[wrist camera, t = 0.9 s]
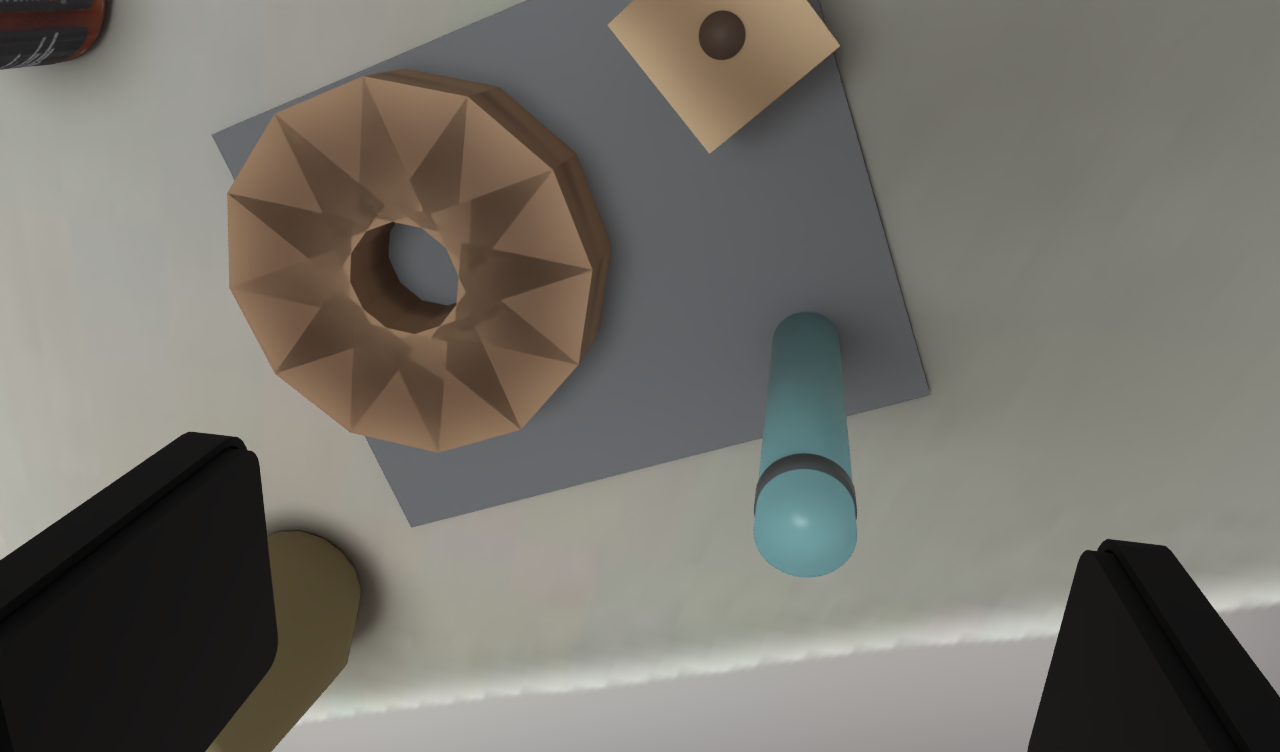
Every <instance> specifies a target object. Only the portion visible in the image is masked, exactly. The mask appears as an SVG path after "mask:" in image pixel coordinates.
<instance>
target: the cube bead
mask: <svg viewBox="0 0 1280 752" xmlns="http://www.w3.org/2000/svg"><path fill="white" fill-rule="evenodd" d="M608 27H609V28H610V29H611V30H612V32H613V33H614V34H615V36H616V37H617V38H618V39H619V41H620V42H621V43H622V44H623V46H624V47H625V48H626V49H627V51H628V52H629V53H630V54H631V56H632V57H633V58H634V59H635V61H636V62H637V63H638V64H639V66H640V67H641V68H642V69H643V71H644V72H645V73H646V75H647V76H648V77H649V78H650V80H651V81H652V82H653V83H654V85H655V86H656V87H657V88H658V90H659V91H660V92H661V93H662V95H663V96H664V97H665V98H666V100H667V101H668V102H669V103H670V105H671V106H672V107H673V108H674V110H675V111H676V112H677V114H678V115H679V116H680V117H681V119H682V120H683V121H684V122H685V124H686V125H687V126H688V127H689V129H690V130H691V131H692V132H693V134H694V135H695V136H696V137H697V139H698V140H699V141H700V142H701V144H702V145H703V146H704V147H705V149H706V150H707V151H708V153H709V154H710V153H711V152H712V151H714V150H715V149H716V148H717V147H719V146H720V145H721V144H722V143H723V142H725V141H726V140H727V139H728V138H729V137H731V136H732V135H733V134H734V133H736V132H737V131H738V130H739V129H740V128H742V127H743V126H744V125H745V124H746V123H748V122H749V121H750V120H751V119H752V118H754V117H755V116H756V115H757V114H759V113H760V112H761V111H762V110H763V109H765V108H766V107H767V106H768V105H769V104H771V103H772V102H773V101H774V100H776V99H777V98H778V97H779V96H780V95H782V94H783V93H784V92H785V91H786V90H788V89H789V88H790V87H791V86H792V85H794V84H795V83H796V82H797V81H799V80H800V79H801V78H802V77H803V76H805V75H806V74H807V73H808V72H809V71H811V70H812V69H813V68H814V67H816V66H817V65H818V64H819V63H820V62H822V61H823V60H824V59H825V58H826V57H828V56H829V55H830V54H831V53H832V52H834V51H835V50H836V49H837V48H839V47H840V45H839V43H838V41H837V40H836V38H835V37H834V35H833V34H832V33H831V31H830V30H829V29H828V27H827V26H826V25H825V23H824V22H823V21H822V19H821V18H820V16H819V15H818V14H817V12H816V11H815V10H814V8H813V7H812V6H811V4H810V3H809V2H808V0H633V1H632V2H631V3H630V4H629V5H628V6H627V7H626V8H625V9H624V10H623V11H622V12H621V13H620V14H619V15H618V16H616V17H615V18H614V19H613V20H612V21H611V22H610V23H609V24H608Z"/></svg>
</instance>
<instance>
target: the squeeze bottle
mask: <svg viewBox="0 0 1280 752" xmlns="http://www.w3.org/2000/svg"><path fill="white" fill-rule="evenodd" d="M267 540H268V549H269V558H270V567H271V576H272V585H273V595H274V604H275V613H276V622H277V631H278V648H277V653H276V657H275V660H274V662H273V664H272V667H271V668H270V670H269V671H268V673H267V674H266V675H265V677H264V678H263V679H262V680H261V682H260V683H259V684H258V685H257V687H256V688H255V689H254V690H253V692H252V693H251V694H250V696H249V697H248V698H247V699H246V701H245V702H244V703H243V704H242V706H241V707H240V708H239V710H238V711H237V712H236V713H235V715H234V716H233V717H232V718H231V720H230V721H229V722H228V724H227V725H226V726H225V727H224V729H223V730H222V731H221V732H220V734H219V735H218V736H217V738H216V739H215V740H214V741H213V743H212V744H211V745H210V746H209V748H208V749H207V750H206V751H205V752H271V751H272V750H273V749H274V748H275V747H276V746H277V745H278V743H279V742H280V741H281V740H282V739H283V738H284V737H285V735H286V734H287V733H288V732H289V731H290V730H291V728H292V727H293V726H294V725H295V724H296V723H297V722H298V721H299V719H300V718H301V717H302V716H303V715H304V714H305V713H306V711H307V710H308V709H309V708H310V707H311V706H312V705H313V703H314V702H315V701H316V700H317V699H318V698H319V697H320V695H321V694H322V693H323V692H324V691H325V690H326V689H327V687H328V686H329V685H330V684H331V683H332V682H333V680H334V679H335V678H336V677H337V676H338V674H339V673H340V672H341V671H342V669H343V668H344V667H345V666H346V665H347V661H348V656H349V652H350V647H351V642H352V637H353V633H354V628H355V623H356V618H357V613H358V609H359V602H360V596H361V587H360V584H359V580H358V577H357V573H356V570H355V569H354V568H353V566H352V565H351V564H350V562H349V561H348V560H347V558H346V557H345V556H344V554H343V553H342V552H341V551H340V550H338V549H337V548H335V547H334V546H333V545H331V544H330V543H328V542H327V541H326V540H324V539H323V538H320V537H317V536H314V535H311V534H308V533H305V532H302V531H282V532H277V533H274V534H272V535H269V536H267Z"/></svg>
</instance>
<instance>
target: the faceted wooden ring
mask: <svg viewBox="0 0 1280 752" xmlns="http://www.w3.org/2000/svg"><path fill="white" fill-rule="evenodd" d="M227 199H228V242H229V285H230V290H231V292H232V293H233V295H234V297H235V299H236V301H237V303H238V305H239V307H240V309H241V310H242V312H243V314H244V316H245V318H246V320H247V322H248V324H249V325H250V327H251V329H252V331H253V333H254V335H255V337H256V339H257V341H258V342H259V344H260V346H261V348H262V350H263V352H264V354H265V356H266V358H267V359H268V361H269V363H270V365H271V367H272V369H273V371H274V373H275V374H276V375H277V376H279V377H280V378H281V379H283V380H284V381H285V382H286V383H288V384H289V385H290V386H292V387H293V388H294V389H295V390H297V391H298V392H299V393H301V394H302V395H303V396H304V397H306V398H307V399H308V400H309V401H311V402H312V403H313V404H315V405H316V406H317V407H318V408H320V409H321V410H322V411H324V412H325V413H326V414H327V415H329V416H330V417H331V418H333V419H334V420H335V421H336V422H338V423H339V424H340V425H342V426H343V427H344V428H345V429H347V430H348V431H349V432H351V433H355V434H360V435H364V436H368V437H373V438H377V439H381V440H386V441H390V442H394V443H398V444H403V445H407V446H411V447H416V448H420V449H424V450H429V451H433V452H437V453H439V452H443V451H446V450H450V449H454V448H457V447H461V446H464V445H468V444H471V443H475V442H479V441H482V440H486V439H489V438H493V437H496V436H500V435H504V434H507V433H511V432H514V431H518V430H521V429H522V428H523V427H524V426H525V425H526V423H527V422H528V421H529V420H530V419H531V418H532V417H533V415H534V414H535V413H536V412H537V411H538V410H539V409H540V408H541V406H542V405H543V404H544V403H545V402H546V401H547V400H548V399H549V397H550V396H551V395H552V394H553V393H554V392H555V391H556V390H557V388H558V387H559V386H560V385H561V384H562V383H563V382H564V380H565V379H566V378H567V377H568V376H569V375H570V374H571V373H572V371H573V370H574V369H575V368H576V367H577V366H578V365H579V363H580V362H581V360H582V358H583V357H584V355H585V353H586V352H587V350H588V348H589V347H590V345H591V344H592V342H593V340H594V339H595V337H596V335H597V334H598V329H599V323H600V316H601V310H602V303H603V297H604V290H605V284H606V277H607V271H608V265H609V258H610V252H611V243H610V240H609V237H608V235H607V232H606V230H605V227H604V224H603V222H602V219H601V217H600V214H599V211H598V209H597V206H596V204H595V201H594V198H593V196H592V193H591V191H590V188H589V185H588V183H587V180H586V178H585V175H584V172H583V170H582V167H581V165H580V162H579V159H578V157H577V154H576V153H575V152H574V151H573V150H572V149H570V148H569V147H568V146H567V145H566V144H565V143H564V142H562V141H561V140H560V139H559V138H558V137H557V136H555V135H554V134H553V133H552V132H551V131H550V130H548V129H547V128H546V127H545V126H544V125H543V124H542V123H540V122H539V121H538V120H537V119H536V118H535V117H533V116H532V115H531V114H530V113H529V112H528V111H526V110H525V109H524V108H523V107H522V106H521V105H520V104H518V103H517V102H516V101H515V100H514V99H513V98H511V97H510V96H509V95H508V94H507V93H506V92H504V91H503V90H502V89H501V88H500V87H497V86H492V85H487V84H482V83H477V82H471V81H466V80H461V79H456V78H451V77H446V76H441V75H435V74H430V73H425V72H420V71H415V70H410V69H404V68H403V69H398V70H393V71H387V72H382V73H377V74H372V75H366V76H362V77H360V78H358V79H355V80H353V81H351V82H348V83H346V84H344V85H341V86H339V87H336V88H334V89H332V90H329V91H327V92H325V93H322V94H320V95H318V96H315V97H313V98H311V99H308V100H306V101H303V102H301V103H299V104H296V105H294V106H292V107H289V108H287V109H285V110H282V111H280V112H278V113H275V114H274V116H273V117H272V119H271V121H270V122H269V124H268V126H267V127H266V129H265V131H264V132H263V134H262V136H261V137H260V139H259V141H258V142H257V144H256V146H255V148H254V149H253V151H252V153H251V154H250V156H249V158H248V159H247V161H246V163H245V164H244V166H243V168H242V169H241V171H240V173H239V174H238V176H237V178H236V179H235V181H234V183H233V184H232V186H231V188H230V190H229V191H228V193H227ZM395 223H400V224H405V225H410V226H415V227H419V228H422V229H423V230H425V231H426V232H427V233H428V234H430V235H431V236H432V237H433V238H434V239H436V240H437V241H438V242H439V243H440V244H442V245H443V246H444V247H445V248H446V249H447V251H448V254H449V256H450V258H451V260H452V263H453V265H454V267H455V269H456V272H457V274H458V276H459V279H458V291H457V303H454V304H451V305H443V304H438V303H434V302H429V301H424V300H421V299H420V298H419V297H417V296H416V295H415V294H414V293H413V292H411V291H410V290H409V289H408V288H406V287H405V286H404V285H403V284H402V283H400V281H399V279H398V277H397V274H396V272H395V270H394V268H393V266H392V264H391V262H390V259H389V240H390V230H391V229H392V228H393V226H394V225H395Z"/></svg>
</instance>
